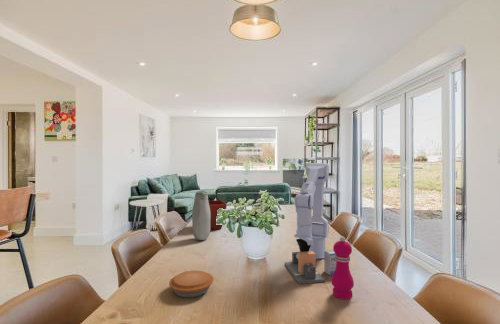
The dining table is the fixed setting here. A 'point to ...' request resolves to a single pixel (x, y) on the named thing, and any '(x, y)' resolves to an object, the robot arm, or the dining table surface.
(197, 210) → the grey vase
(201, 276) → the pie
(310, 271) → the pipe stand
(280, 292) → the dining table surface
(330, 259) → the medicine box
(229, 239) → the dining table surface
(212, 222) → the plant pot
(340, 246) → the pepper mill
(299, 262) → the collar
